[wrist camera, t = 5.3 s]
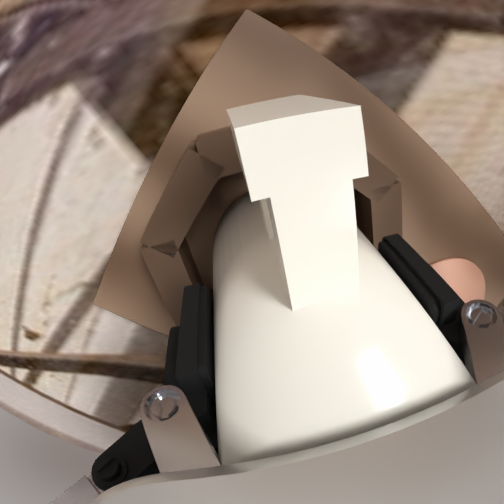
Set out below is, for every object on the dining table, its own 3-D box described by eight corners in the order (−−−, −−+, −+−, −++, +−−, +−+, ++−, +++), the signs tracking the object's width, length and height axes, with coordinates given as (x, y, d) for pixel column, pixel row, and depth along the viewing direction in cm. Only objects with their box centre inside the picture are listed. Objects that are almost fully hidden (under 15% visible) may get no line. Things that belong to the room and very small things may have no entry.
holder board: (243, 14, 11) (252, -4, 8) (517, 259, 20) (541, 280, 17) (99, 290, 17) (82, 327, 14) (397, 393, 26) (410, 420, 23)
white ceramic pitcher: (351, 304, 16) (434, 475, 8) (238, 332, 16) (262, 525, 8) (327, 83, 11) (563, 129, 2) (171, 117, 11) (31, 239, 2)
